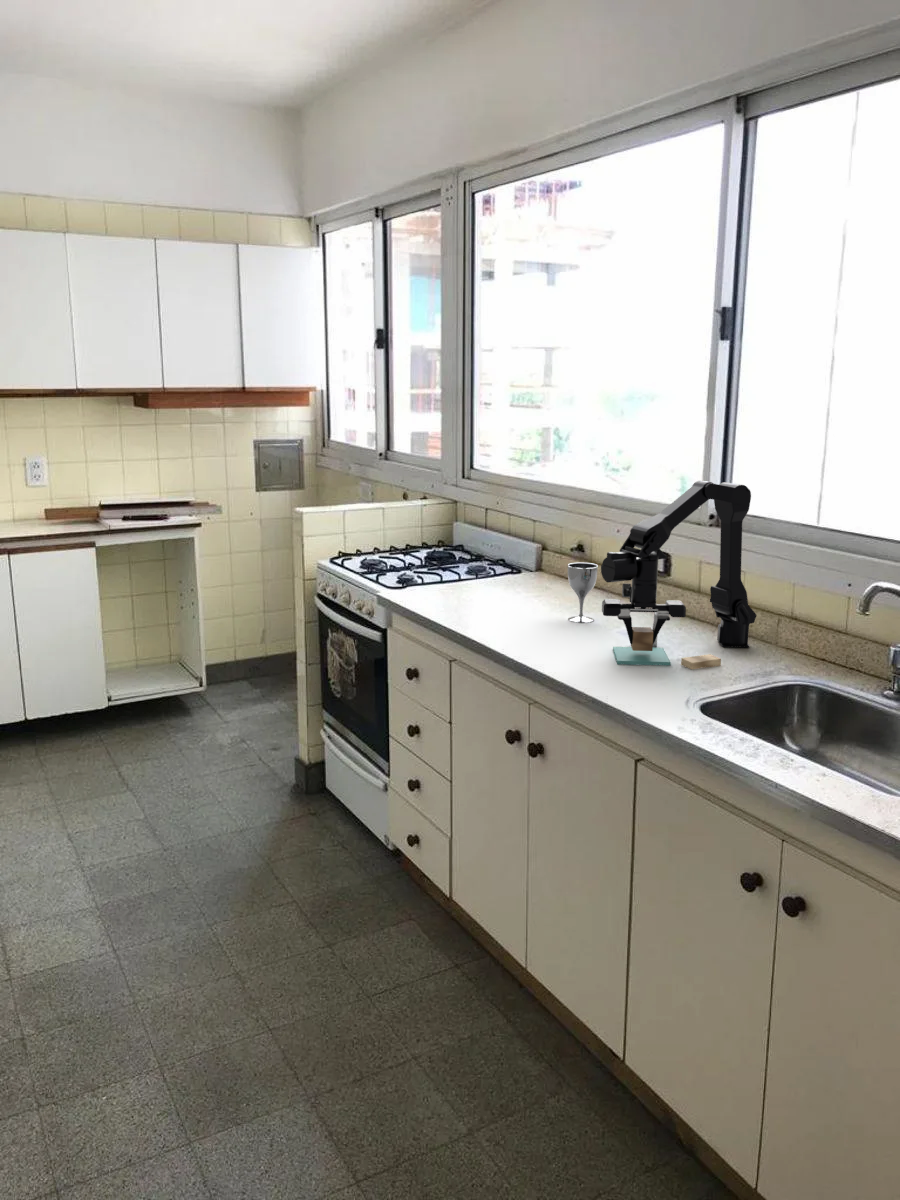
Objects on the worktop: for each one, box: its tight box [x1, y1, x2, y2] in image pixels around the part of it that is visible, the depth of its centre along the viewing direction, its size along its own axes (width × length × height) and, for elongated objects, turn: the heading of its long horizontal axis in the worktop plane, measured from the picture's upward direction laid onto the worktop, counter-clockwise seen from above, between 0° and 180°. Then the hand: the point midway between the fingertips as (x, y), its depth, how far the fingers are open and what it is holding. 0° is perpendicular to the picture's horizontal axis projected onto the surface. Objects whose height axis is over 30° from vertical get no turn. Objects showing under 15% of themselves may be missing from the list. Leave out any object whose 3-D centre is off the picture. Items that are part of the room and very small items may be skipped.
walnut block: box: [630, 626, 653, 651], centre depth 228 cm, size 4×4×4 cm
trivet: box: [612, 646, 672, 666], centre depth 229 cm, size 12×12×1 cm
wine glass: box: [567, 562, 599, 624], centre depth 262 cm, size 8×8×15 cm
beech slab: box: [680, 653, 722, 670], centre depth 223 cm, size 8×4×2 cm, turn 112°
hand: (641, 643), depth 228 cm, fingers closed on walnut block, 4 cm apart
